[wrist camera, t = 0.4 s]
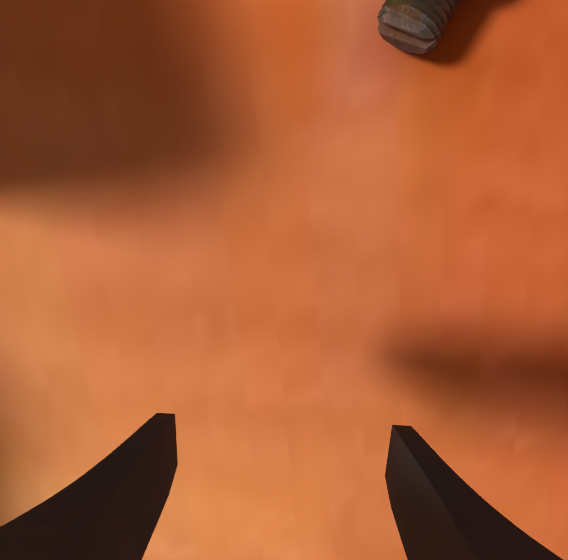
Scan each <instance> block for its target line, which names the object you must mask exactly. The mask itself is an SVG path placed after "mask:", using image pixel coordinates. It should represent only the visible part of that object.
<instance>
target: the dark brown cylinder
mask: <svg viewBox="0 0 568 560" xmlns="http://www.w3.org/2000/svg"><path fill="white" fill-rule="evenodd" d="M460 1H461V0H386V2H385V3H384V4H383V6H382V9H381V10H380V12H379V15H380V16H378V21H379V26H378V30H379V33H380V35H381V36H382V38H383V39H384V40H386V41H387V42H389V43H390V44H392V45H393V46H395V47H397V48H398V49H400V50H403V51H405V52H409V53H415V54H424V53H426V52H430V51H433V50H434V49H435V47H436V44H437V43H438V42H439V40H440V36H441V35H443V31H444V30H445V28H446V26H447V23H448V22H449V21H450V19H451V16H452V15H453V14H454V12H455V10H456V8H457V6H458V5H459V2H460Z"/></svg>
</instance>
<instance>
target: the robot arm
mask: <svg viewBox="0 0 568 560" xmlns="http://www.w3.org/2000/svg"><path fill="white" fill-rule="evenodd" d="M176 468H177V445H176V426H175V414H166V413H156V414H155V415H154V416H153V417H152V418H150V419H149V420H148V421H147V422H146V423H145V424H144V425H142V426H141V427H140V428H139V429H138V430H137V431H136V432H135V433H133V434H132V435H131V436H130V437H129V438H128V439H127V440H126V441H124V442H123V443H122V444H121V445H120V446H119V447H117V448H116V449H115V450H114V451H113V452H112V453H110V454H109V455H108V456H107V457H106V458H104V459H103V460H102V461H100V462H99V463H98V464H97V465H95V466H94V467H93V468H92V469H90V470H89V471H88V472H86V473H85V474H84V475H83V476H81V477H80V478H78V479H77V480H76V481H74V482H73V483H71V484H70V485H69V486H67V487H66V488H64V489H63V490H61V491H60V492H58V493H57V494H55V495H54V496H52V497H51V498H49V499H47V500H46V501H44V502H43V503H41V504H39V505H37V506H36V507H34V508H32V509H31V510H29V511H27V512H26V513H24V514H22V515H21V516H19V517H17V518H15V519H14V520H12V521H10V522H8V523H7V524H5V525H3V526H1V527H0V560H142V557H143V555H144V553H145V550H146V548H147V545H148V543H149V541H150V538H151V536H152V534H153V531H154V529H155V527H156V524H157V522H158V520H159V517H160V515H161V512H162V510H163V508H164V505H165V503H166V500H167V498H168V495H169V492H170V489H171V485H172V482H173V479H174V475H175V472H176ZM385 478H386V483H387V489H388V494H389V499H390V504H391V508H392V511H393V515H394V518H395V521H396V524H397V528H398V531H399V534H400V537H401V540H402V543H403V546H404V550H405V553H406V556H407V559H408V560H563V559H561V558H560V557H558V556H557V555H555V554H554V553H552V552H551V551H550V550H548V549H547V548H545V547H544V546H543V545H541V544H540V543H538V542H537V541H535V540H534V539H533V538H531V537H530V536H528V535H527V534H526V533H525V532H523V531H522V530H521V529H519V528H518V527H517V526H515V525H514V524H513V523H512V522H510V521H509V520H508V519H507V518H505V517H504V516H503V515H502V514H500V513H499V512H498V511H497V510H495V509H494V508H493V507H492V506H491V505H490V504H488V503H487V502H486V501H485V500H484V499H483V498H482V497H481V496H479V495H478V494H477V493H476V492H475V491H474V490H473V489H472V488H471V487H470V486H469V485H467V484H466V483H465V482H464V481H463V480H462V479H461V478H460V477H459V476H458V475H457V474H456V473H455V472H454V471H453V470H452V469H451V468H450V467H449V466H448V465H447V464H446V463H445V462H444V461H443V460H442V459H441V458H440V457H439V456H438V454H437V453H436V452H435V451H434V450H433V449H432V448H431V447H430V446H429V445H428V444H427V443H426V442H425V440H424V439H423V438H422V437H421V436H420V435H419V434H418V433H417V432H416V431H415V430H414V429H413V428H412V427H411V426H401V425H392V431H391V438H390V445H389V452H388V458H387V465H386V472H385Z"/></svg>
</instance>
